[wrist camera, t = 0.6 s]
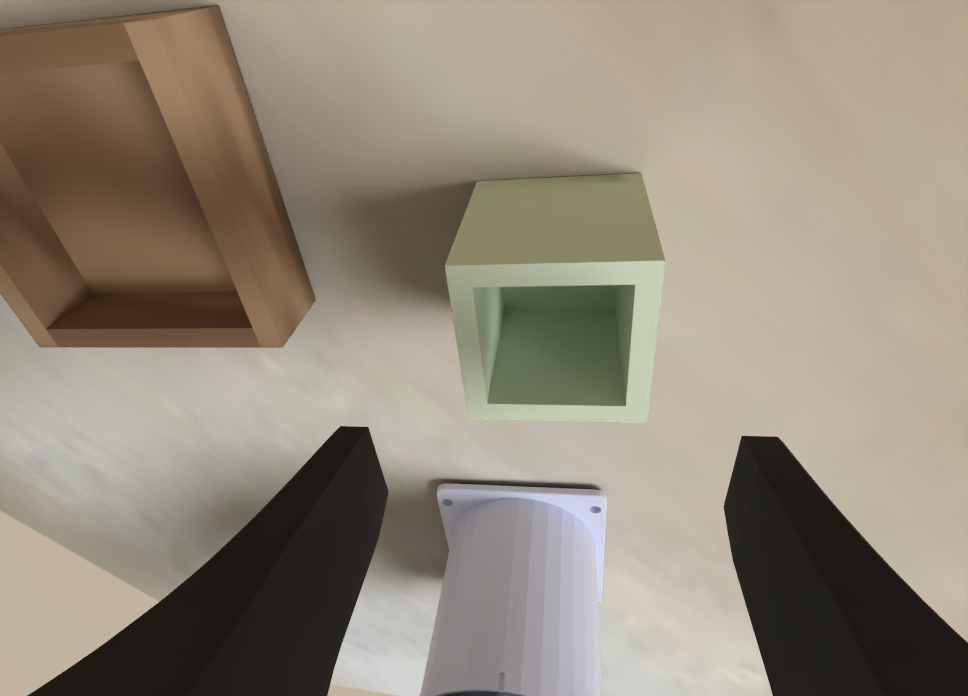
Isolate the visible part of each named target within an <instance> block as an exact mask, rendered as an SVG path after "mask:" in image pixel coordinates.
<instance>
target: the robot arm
mask: <svg viewBox="0 0 968 696" xmlns="http://www.w3.org/2000/svg"><path fill="white" fill-rule="evenodd" d="M387 496H388V489H387V486H386V483H385V479H384V476H383V473H382V470H381V467H380V463H379V460H378V457H377V454H376V451H375V447H374V444H373V441H372V438H371V434H370V431H369V428H368V427H347V426H340V427H339V428H338V429H337V430H336V431H335V432H334V433H333V434H332V435H331V436H330V438H329V439H328V440H327V441H326V442H325V443H324V444H323V445H322V446H321V447H320V448H319V449H318V451H317V452H316V453H315V454H314V455H313V456H312V457H311V458H310V459H309V460H308V461H307V463H306V464H305V465H304V466H303V467H302V468H301V469H300V470H299V471H298V472H297V473H296V474H295V475H294V477H293V478H292V479H291V480H290V481H289V482H288V483H287V484H286V485H285V486H284V487H283V488H282V489H281V490H280V491H279V492H278V493H277V494H276V495H275V497H274V498H273V499H272V500H271V501H270V502H269V503H268V504H267V505H266V506H265V507H264V508H263V509H262V510H261V511H260V512H259V513H258V514H257V515H256V516H255V517H254V518H253V519H252V520H251V521H250V522H249V523H248V524H247V525H246V526H245V527H244V528H243V529H242V530H241V531H240V532H238V533H237V534H236V535H235V536H234V537H233V538H232V539H231V540H230V541H229V542H228V543H227V544H226V545H225V546H224V547H223V548H222V549H221V550H220V551H219V552H218V553H216V554H215V555H214V556H213V557H212V558H211V559H210V560H209V561H208V562H206V563H205V564H204V565H203V566H202V567H201V568H200V569H199V570H197V571H196V572H195V573H194V574H193V575H192V576H190V577H189V578H188V579H187V580H186V581H184V582H183V583H182V584H181V585H180V586H178V587H177V588H176V589H175V590H174V591H172V592H171V593H170V594H169V595H168V596H166V597H165V598H164V599H163V600H161V601H160V602H159V603H158V604H156V605H155V606H154V607H152V608H151V609H150V610H148V611H147V612H146V613H144V614H143V615H142V616H140V617H139V618H138V619H136V620H135V621H134V622H133V623H131V624H130V625H128V626H127V627H126V628H125V629H123V630H122V631H121V632H119V633H118V634H117V635H115V636H114V637H113V638H111V639H110V640H109V641H107V642H106V643H105V644H103V645H102V646H101V647H99V648H98V649H96V650H95V651H94V652H92V653H91V654H89V655H88V656H86V657H85V658H83V659H82V660H80V661H79V662H78V663H76V664H75V665H73V666H72V667H70V668H69V669H67V670H66V671H64V672H63V673H61V674H60V675H58V676H57V677H55V678H54V679H52V680H51V681H49V682H48V683H46V684H45V685H43V686H42V687H40V688H39V689H37V690H36V691H34V692H33V693H31V694H29V695H28V696H327V694H328V690H329V686H330V682H331V678H332V674H333V670H334V667H335V664H336V660H337V657H338V654H339V651H340V647H341V644H342V641H343V639H344V636H345V633H346V630H347V627H348V624H349V622H350V619H351V616H352V613H353V610H354V607H355V604H356V602H357V599H358V596H359V593H360V590H361V587H362V585H363V582H364V579H365V576H366V573H367V570H368V567H369V564H370V562H371V559H372V556H373V553H374V550H375V547H376V544H377V541H378V537H379V533H380V529H381V524H382V520H383V516H384V511H385V506H386V501H387ZM436 496H437V500H438V505H439V509H440V513H441V517H442V522H443V526H444V530H445V535H446V539H447V543H448V548H449V554H448V559H447V564H446V569H445V574H444V579H443V584H442V589H441V594H440V599H439V604H438V609H437V614H436V619H435V624H434V629H433V634H432V639H431V644H430V649H429V654H428V659H427V664H426V669H425V674H424V679H423V684H422V689H421V694H420V696H601V673H600V645H599V616H598V603H600V602H601V595H602V578H603V560H604V543H605V526H606V509H607V497H606V494H605V493H604V492H602V491H600V490H594V489H570V488H546V487H522V486H498V485H474V484H450V483H445V484H441V485H439V486H438V488H437V492H436ZM724 511H725V517H726V523H727V529H728V536H729V541H730V547H731V552H732V557H733V562H734V565H735V569H736V572H737V576H738V579H739V582H740V586H741V589H742V593H743V596H744V599H745V603H746V606H747V610H748V613H749V616H750V620H751V623H752V626H753V630H754V633H755V636H756V640H757V643H758V646H759V650H760V653H761V656H762V660H763V663H764V666H765V670H766V673H767V676H768V680H769V683H770V686H771V690H772V694H773V696H968V643H967V642H966V641H965V640H964V639H963V638H962V637H961V636H960V635H959V634H958V633H956V632H955V631H954V630H953V629H952V628H951V627H950V626H949V625H948V624H947V623H946V622H945V621H944V620H943V619H942V618H941V617H940V616H939V615H938V614H937V613H936V612H935V611H934V610H933V609H932V608H931V607H930V606H928V605H927V604H926V603H925V602H924V601H923V600H922V599H921V598H920V597H919V596H918V595H917V593H916V592H915V591H914V590H913V589H912V588H911V587H910V586H909V585H908V584H907V583H906V582H905V581H904V580H903V579H902V578H901V577H900V576H899V575H898V574H897V573H896V572H895V571H894V570H893V569H892V568H891V567H890V566H889V565H888V564H887V563H886V561H885V560H884V559H883V558H882V557H881V556H880V555H879V554H878V553H877V552H876V551H875V550H874V549H873V547H872V546H871V545H870V544H869V543H868V542H867V541H866V540H865V539H864V537H863V536H862V535H861V534H860V533H859V532H858V531H857V530H856V529H855V527H854V526H853V525H852V524H851V523H850V522H849V521H848V520H847V519H846V517H845V516H844V515H843V514H842V513H841V512H840V511H839V509H838V508H837V507H836V506H835V505H834V504H833V502H832V501H831V500H830V499H829V498H828V497H827V495H826V494H825V493H824V492H823V491H822V489H821V488H820V487H819V486H818V485H817V483H816V482H815V481H814V480H813V479H812V477H811V476H810V475H809V474H808V473H807V471H806V470H805V469H804V468H803V466H802V465H801V464H800V463H799V461H798V460H797V459H796V458H795V457H794V455H793V454H792V453H791V452H790V450H789V449H788V448H787V447H786V445H785V444H784V443H783V442H782V441H781V440H780V439H779V438H778V437H761V436H742V437H741V441H740V445H739V449H738V453H737V457H736V461H735V465H734V469H733V472H732V476H731V480H730V484H729V488H728V492H727V496H726V500H725V504H724Z"/></svg>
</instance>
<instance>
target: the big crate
mask: <svg viewBox="0 0 968 696" xmlns="http://www.w3.org/2000/svg"><path fill="white" fill-rule="evenodd" d="M0 293H1V295H2V296H3V297H4V299H5V300H6V302H7V303H8V304H9V306H10V307H11V308H12V310H13V311H14V313H15V314H16V315H17V317H18V318H19V319H20V321H21V322H22V324H23V325H24V326H25V328H26V329H27V331H28V332H29V333H30V335H31V336H32V337H33V339H34V340H35V342H36V343H37V344H38V346H39V347H283V346H284V345H285V344H286V342H287V341H288V339H289V338H290V336H291V335H292V333H293V332H294V331H295V329H296V328H297V326H298V325H299V323H300V322H301V320H302V319H303V318H304V316H305V315H306V313H307V312H308V310H309V309H310V308H311V306H312V305H313V303H314V302H315V300H316V299H315V296H314V293H313V290H312V287H311V284H310V281H309V278H308V275H307V272H306V269H305V266H304V263H303V260H302V257H301V254H300V251H299V248H298V245H297V242H296V239H295V236H294V233H293V229H292V226H291V223H290V220H289V217H288V214H287V211H286V208H285V205H284V202H283V199H282V196H281V193H280V190H279V187H278V184H277V181H276V178H275V175H274V172H273V169H272V166H271V163H270V159H269V156H268V153H267V150H266V147H265V144H264V141H263V138H262V135H261V132H260V129H259V126H258V123H257V120H256V117H255V114H254V111H253V108H252V105H251V102H250V99H249V96H248V93H247V89H246V86H245V83H244V80H243V77H242V74H241V71H240V68H239V65H238V62H237V59H236V56H235V53H234V50H233V47H232V44H231V41H230V38H229V35H228V32H227V29H226V26H225V23H224V19H223V16H222V13H221V10H220V7H219V5H218V6H209V7H200V8H191V9H182V10H173V11H164V12H155V13H145V14H136V15H127V16H118V17H109V18H100V19H91V20H82V21H73V22H64V23H54V24H45V25H36V26H27V27H18V28H9V29H0Z"/></svg>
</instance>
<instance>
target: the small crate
mask: <svg viewBox="0 0 968 696" xmlns="http://www.w3.org/2000/svg"><path fill="white" fill-rule="evenodd" d="M664 267H665V258H664V254H663V251H662V247H661V243H660V240H659V236H658V232H657V229H656V225H655V221H654V218H653V214H652V210H651V207H650V203H649V199H648V196H647V192H646V188H645V185H644V181H643V177H642V174H641V173H631V174H611V175H591V176H570V177H550V178H529V179H509V180H488V181H477V183H476V185H475V188H474V191H473V193H472V196H471V198H470V201H469V204H468V206H467V209H466V211H465V214H464V217H463V219H462V222H461V224H460V227H459V230H458V232H457V235H456V238H455V240H454V243H453V245H452V248H451V251H450V253H449V256H448V258H447V261H446V264H445V271H446V278H447V284H448V290H449V297H450V303H451V309H452V316H453V322H454V329H455V335H456V341H457V348H458V354H459V360H460V367H461V373H462V379H463V386H464V392H465V399H466V405H467V411H468V418H469V419H504V420H549V421H594V422H639V423H647V419H648V410H649V401H650V392H651V383H652V374H653V365H654V356H655V347H656V338H657V329H658V320H659V311H660V302H661V293H662V285H663V276H664Z"/></svg>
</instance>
